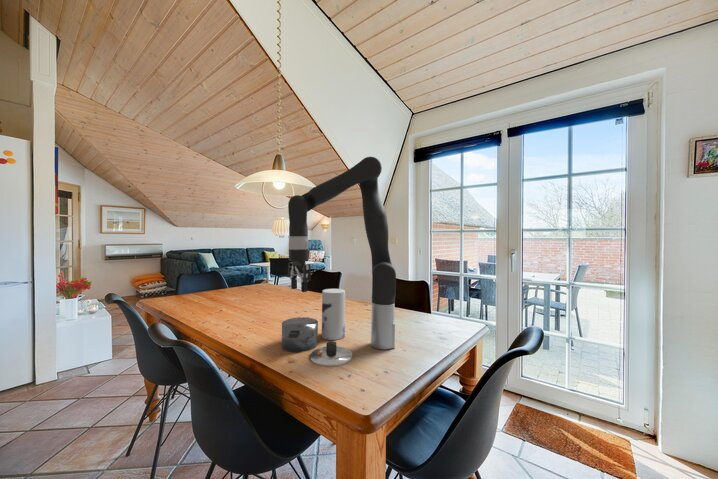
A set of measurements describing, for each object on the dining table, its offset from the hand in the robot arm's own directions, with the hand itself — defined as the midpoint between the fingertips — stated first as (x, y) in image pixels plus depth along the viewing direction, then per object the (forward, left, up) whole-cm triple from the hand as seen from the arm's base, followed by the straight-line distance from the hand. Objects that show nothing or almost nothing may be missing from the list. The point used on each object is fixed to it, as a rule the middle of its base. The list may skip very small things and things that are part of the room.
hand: (299, 290), depth 107 cm
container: (-12, -15, -23) cm, 29 cm away
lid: (-14, +6, -23) cm, 27 cm away
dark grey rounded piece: (0, -4, -22) cm, 23 cm away
